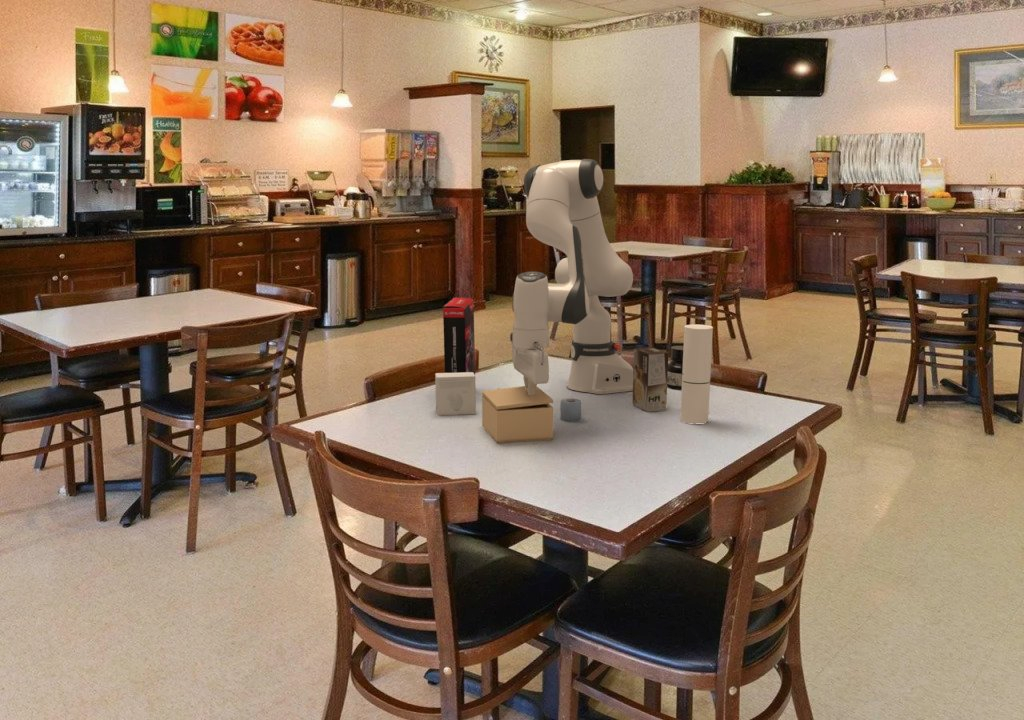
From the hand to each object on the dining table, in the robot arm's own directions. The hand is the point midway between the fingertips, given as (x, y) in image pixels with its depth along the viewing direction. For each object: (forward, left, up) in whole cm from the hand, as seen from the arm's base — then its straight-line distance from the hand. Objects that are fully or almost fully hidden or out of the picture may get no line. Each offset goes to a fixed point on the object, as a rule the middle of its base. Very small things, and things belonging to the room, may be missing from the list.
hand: (530, 394), depth 231 cm
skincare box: (+14, -24, -10) cm, 29 cm away
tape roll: (-14, -10, -10) cm, 19 cm away
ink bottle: (-58, -38, -10) cm, 70 cm away
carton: (+3, -1, -10) cm, 10 cm away
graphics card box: (+9, -43, -10) cm, 45 cm away
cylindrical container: (-45, -1, -10) cm, 46 cm away
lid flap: (+3, -1, -1) cm, 3 cm away
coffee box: (-39, -17, -10) cm, 43 cm away
